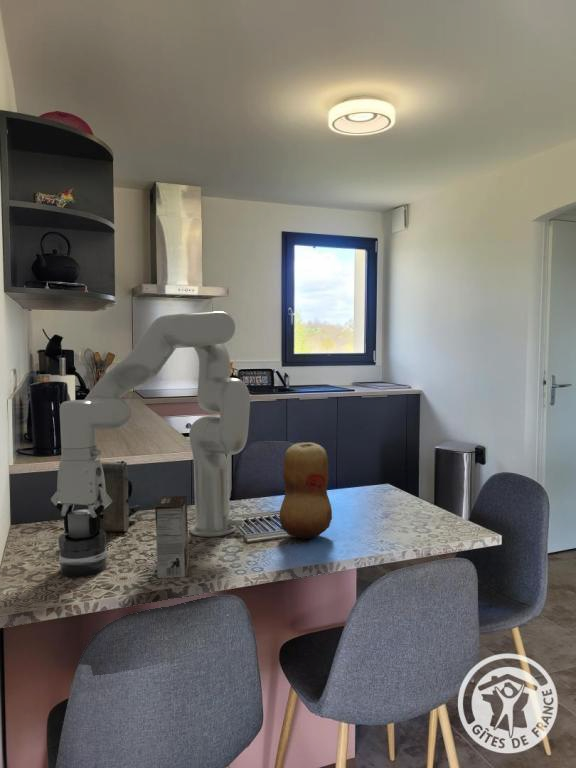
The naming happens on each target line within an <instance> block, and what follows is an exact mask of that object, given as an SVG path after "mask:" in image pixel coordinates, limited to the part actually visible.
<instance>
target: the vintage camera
mask: <svg viewBox="0 0 576 768" xmlns="http://www.w3.org/2000/svg"><path fill="white" fill-rule="evenodd" d="M101 464H102V468H103V472H104V479H105V487H106V493H107V494H108V495H109V497H110V498H111V499H112V503H111V504H110V505H109V506H107V508H106V509H105V510H104V511H103V512H102V514H100V525H101V527H100V529H102V530H104V531H105V533H127V532H128V531H129V527H130V518H131V517H132V516H133V515H135V514H136V513H137V512H139V511H140V510H141V509H142V508H143V506H141V505H140V504H138V503H137V504H135V505H133V506H130V505H129V504H130V503H129V502H130V498H131V497H132V493H133V484H132V482H131V480H129V472H128V464H127V462H126V461H124V460H121V461H116V462H115V461H114V462H108V461H102V462H101ZM99 503H100V505H101V504H102V503H103V500H102V501H99ZM126 531H127V532H126Z"/></svg>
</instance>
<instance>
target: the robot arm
mask: <svg viewBox="0 0 576 768" xmlns="http://www.w3.org/2000/svg"><path fill="white" fill-rule="evenodd" d="M235 332H236V324H235V319H233V317H232V316H231V315H230V314H228V313H227V312H225V311H222V310H216V311H207V312H197V313H195V312H194V313H193V312H192V313H177V314H166V315H161V316H159V317H157V318H155V320H154V321H153V322H152V323H151V324H150V325H149V326H148V329H147V330H146V331H145V332H144V334H143V335H142V336H141V337H140V339H139V341H138V342H137V343H136V345H135V346H134V347H133V349H132V350H131V351H130V352H129V353H128V355H127V356H126V357H125V358H124V359H122V360H121V361H119V362H118V363H117V364H116V365H115V366H114V367H113V368H111V369H110V370H109V371H108V372H106V373H105V374H104V375H103V376H102V377H101V378H100V379H99V380H98V381H97V382H96V383H95V384H94V385H93V387H92V388H91V390H90V391H89V393H88V394H86V397H85V398H84V399H75V400H74V399H72V400H66V401H63V402H62V403H61V404H60V405H59V422H60V423H59V424H60V425H59V426H60V445H61V448H60V451H61V460H60V461H59V464H58V470H57V481H56V482H57V484H56V485H57V486H56V488H57V489H56V491H55V493H54V494H53V495H52V496H51V498H50V501H51V502H52V503H53V505H54V506H56V508H57V509H58V510H59V512H60V515H61V517H63V525H64V526H63V528H64V533H68V513H69V512H72V511H74V509H75V505H76V506H77V505H79V506H87V509H89V511H90V514H91V517H90V518H89V529H90V535H94V534H96V533H97V532H99V531H100V527H101V525H100V514H102V512H103V511H104V510H105V509H106V508H107V506H109V505H110V504H111V503H112V499H111V498H110V497H109V495H108V494H107V493H106V487H105V479H104V472H103V468H102V464H101V459H100V458H98V456H100V455H101V454H102V450H100V449H98V448H97V447H98V446H97V434H96V433H97V432H96V431H97V430H107V431H109V430H110V431H111V430H119V429H121V428H122V429H123V428H124V427H125V426H127V424H129V422H130V421H131V419H132V415H133V414H132V413H133V412H132V408H131V406H130V404H129V403H128V402H127V401H125V400H124V399H122V398H123V397H124V396H125V395H126V394H127V393H128V392H130V391H132V390H133V389H135V388H137V387H140V386H141V385H144V384H146V383H149V382H150V381H151V380H152V381H153V379H155V378H156V377H157V376H158V374H159V373H160V372H161V370H162V368H163V367H164V366H165V364H166V363H167V361H169V359H170V357H171V356H172V355H173V354H174V352H175V351H176V349H179V348H180V349H181V348H193V349H194V350H195V352H196V354H197V358H198V362H199V363H198V380H197V398H196V400H197V403H198V406H199V407H200V408H201V409H202V410H204V411H206V412H212V413H219V416H218V417H217V416H204V417H203V416H202V417H200V418H198V419H196V420H194V422H192V424H191V426H190V428H189V434H188V436H189V437H188V438H189V445H190V448H191V453H192V460H193V481H194V484H193V485H194V487H193V488H194V514H195V515H194V516H195V523H193V524H192V525H191V526H190V527H189V532H190V534H191V535H194V536H196V537H197V536H198V537H203V538H204V537H205V538H206V537H207V538H209V537H210V538H211V537H213V538H214V537H221V536H225V535H226V536H227V535H229V534H231V533H233V532H235V530H236V528H237V527H241V528H242V527H243V528H244V526H245V519H243V517H235V516H234V512H233V511H231V510H230V506H231V505H230V480H229V479H230V478H229V477H230V476H229V475H230V474H229V473H230V471H229V470H230V469H229V463H228V458H227V455H229V456H230V455H236V454H237V455H238V453H240V452H242V451H243V449H244V448H245V446H246V444H247V441H248V437H249V424H250V423H249V422H250V410H251V409H250V408H251V396H250V394H251V393H250V391H249V388H248V387H247V385H246V383H245V382H244V381H243V380H241V379H239V378H235V377H231V358H230V354H229V351H228V350H227V347H226V346H225V343H228V342H230V340H231V339H232V338H233V337H234V335H235ZM102 500H103V503H102V504H101V505H100V503H99V501H102Z"/></svg>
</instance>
